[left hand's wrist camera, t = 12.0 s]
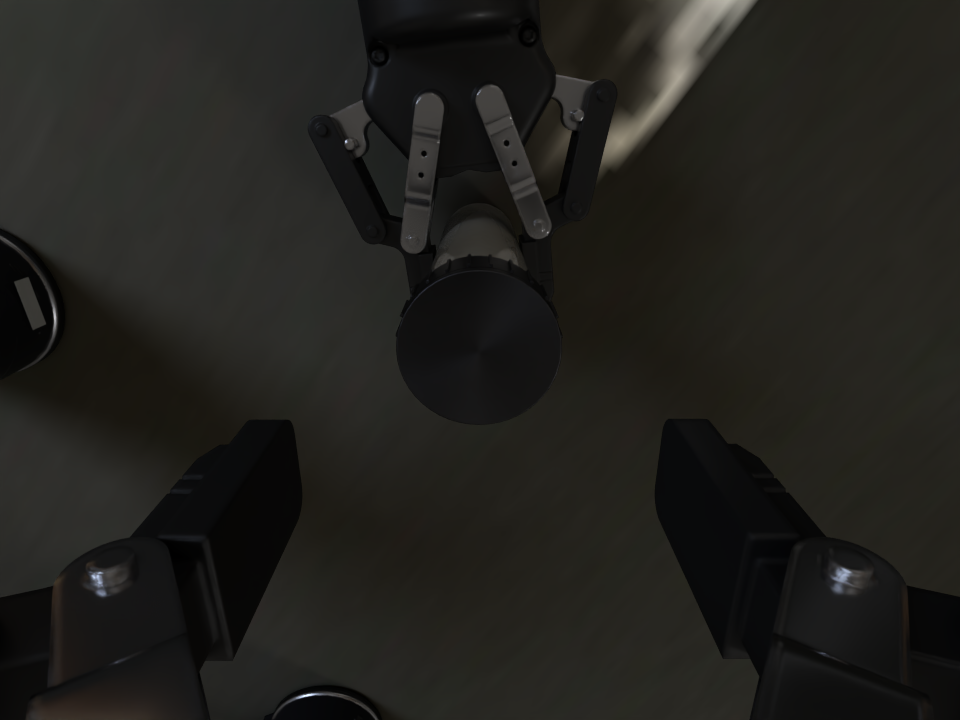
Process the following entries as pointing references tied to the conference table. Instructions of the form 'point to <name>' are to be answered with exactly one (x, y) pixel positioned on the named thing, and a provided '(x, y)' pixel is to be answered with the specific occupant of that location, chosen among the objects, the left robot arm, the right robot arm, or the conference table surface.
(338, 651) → the conference table surface
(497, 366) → the lid
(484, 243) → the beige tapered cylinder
